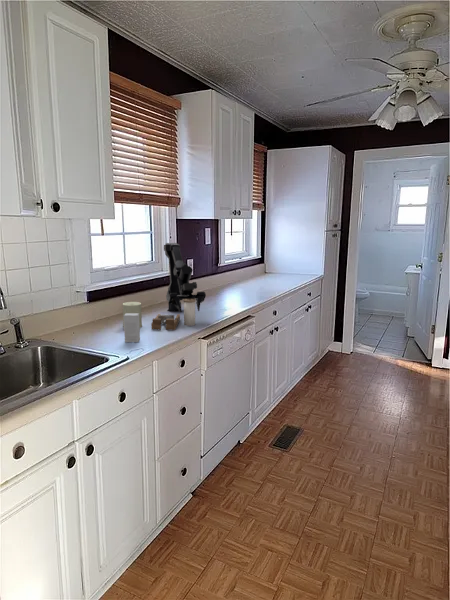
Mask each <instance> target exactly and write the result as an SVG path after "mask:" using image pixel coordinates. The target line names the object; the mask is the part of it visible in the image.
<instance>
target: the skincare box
mask: <svg viewBox="0 0 450 600" xmlns="http://www.w3.org/2000/svg"><path fill="white" fill-rule="evenodd" d="M140 329H141V327H139V313H126V314H125V315H124V327H123V330H124V342H125V343H139V342H140V340H141V333H140V332H141V331H140Z"/></svg>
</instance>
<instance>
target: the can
mask: <svg viewBox="0 0 450 600" xmlns="http://www.w3.org/2000/svg"><path fill="white" fill-rule="evenodd" d="M126 313H139V327H140V328H142V327H143V322H142V320H143V319H142V318H143V315H142V303H141V302H139V301H128V302H127V301H126V302H123V303H122V322H123V323H122V324H123V325H122V327H123V328H124V315H125V314H126Z"/></svg>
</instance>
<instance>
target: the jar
mask: <svg viewBox="0 0 450 600" xmlns="http://www.w3.org/2000/svg"><path fill="white" fill-rule="evenodd" d="M196 302H197V301H196V299H194V298H185V299H183V325H184V326H187V327H189V326H190V327H193V326H195V325H196Z"/></svg>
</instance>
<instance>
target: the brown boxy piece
mask: <svg viewBox="0 0 450 600" xmlns="http://www.w3.org/2000/svg"><path fill="white" fill-rule="evenodd" d="M158 315H162V314H161V313H157V315H156V316H155V318H152V322H151V326H150V328H151V330H152V329H157V330H158V329H159V330H162V324H161V319H159V318H158ZM180 321H181V314H180V313H179V314H178V313H177V314H176V317H174V319H166V324H165V330H166V331H167V330H169V331H175V330H176V329H177V327H178V324H179V322H180Z"/></svg>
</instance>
